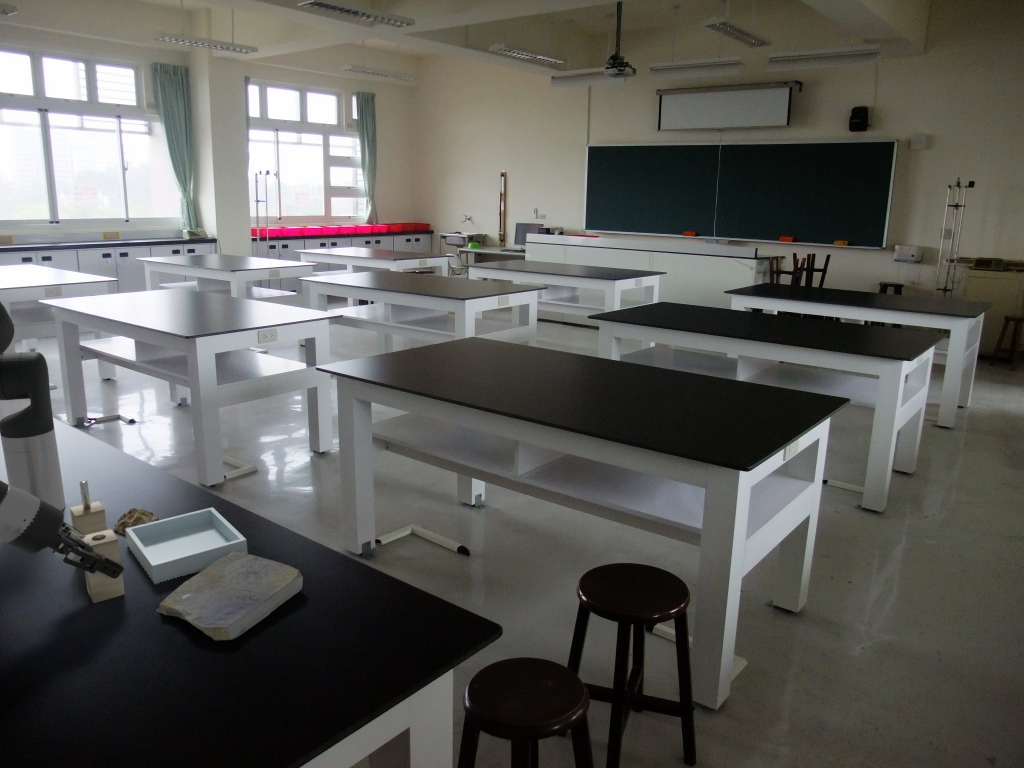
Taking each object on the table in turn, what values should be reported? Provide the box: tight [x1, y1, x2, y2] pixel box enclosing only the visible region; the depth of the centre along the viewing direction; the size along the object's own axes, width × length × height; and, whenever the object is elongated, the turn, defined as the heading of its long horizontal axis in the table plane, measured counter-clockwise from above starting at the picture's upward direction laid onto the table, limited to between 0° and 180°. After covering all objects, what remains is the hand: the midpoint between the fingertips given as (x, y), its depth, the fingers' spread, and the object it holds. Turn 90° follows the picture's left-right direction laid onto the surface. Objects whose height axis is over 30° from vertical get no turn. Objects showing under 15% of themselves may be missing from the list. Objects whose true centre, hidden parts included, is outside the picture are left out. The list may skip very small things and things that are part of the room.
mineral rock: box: [113, 507, 160, 536], centre depth 148 cm, size 11×4×8 cm
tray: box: [125, 507, 249, 585], centre depth 139 cm, size 18×16×4 cm
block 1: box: [69, 480, 108, 535], centre depth 134 cm, size 5×5×15 cm
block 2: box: [81, 528, 126, 604], centre depth 124 cm, size 5×5×10 cm
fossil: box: [155, 551, 304, 641], centre depth 123 cm, size 20×5×17 cm
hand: (115, 566), depth 125 cm, fingers closed on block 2, 4 cm apart
